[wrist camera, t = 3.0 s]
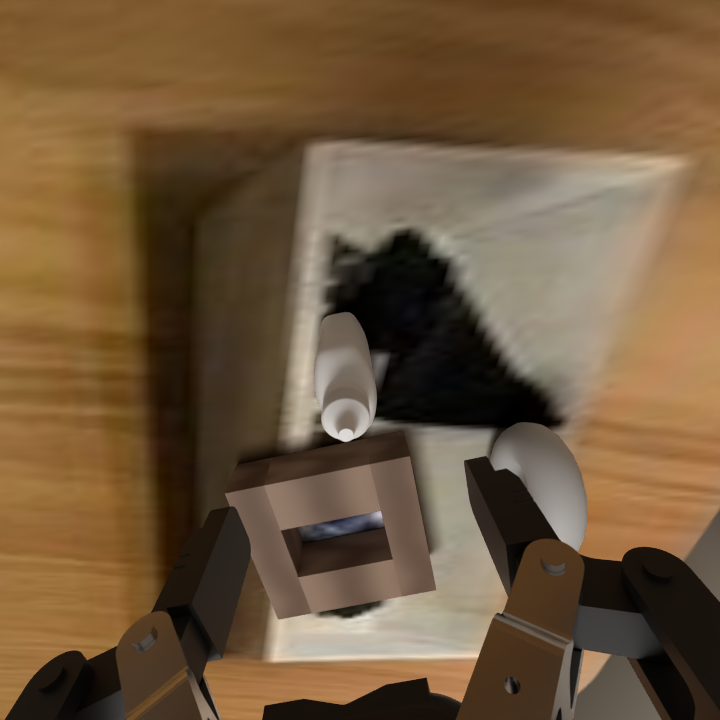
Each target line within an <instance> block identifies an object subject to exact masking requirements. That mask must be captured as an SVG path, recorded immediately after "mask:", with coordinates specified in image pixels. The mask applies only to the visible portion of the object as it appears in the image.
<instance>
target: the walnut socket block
mask: <svg viewBox="0 0 720 720" xmlns="http://www.w3.org/2000/svg"><path fill="white" fill-rule="evenodd" d="M225 495H226V497H227V500H228V502H229V505H230V507H231V506H234V507H235V508H236V509H237V511H238V513H239V516H240V518H241V521H242V523H243V525H244V528H245V530H246V532H247V535H248V537H249V540H250V545H251V556H252V559H253V561H254V563H255V566H256V568H257V571H258V573H259V575H260V578H261V580H262V582H263V585H264V587H265V589H266V592H267V594H268V596H269V599H270V601H271V603H272V606H273V608H274V611H275V613H276V615H277V618H278V619H284V618H289V617H294V616H300V615H305V614H310V613H316V612H321V611H326V610H332V609H337V608H342V607H348V606H353V605H359V604H364V603H369V602H375V601H380V600H385V599H391V598H396V597H401V596H407V595H412V594H417V593H423V592H428V591H433V590H436V586H435V581H434V576H433V571H432V566H431V561H430V556H429V551H428V546H427V541H426V536H425V531H424V526H423V520H422V515H421V510H420V505H419V500H418V495H417V490H416V485H415V480H414V475H413V470H412V465H411V460H410V455H409V451H408V448H407V444H406V440H405V436H404V433H403V431H400V432H395V433H390V434H385V435H380V436H375V437H370V438H366V439H361V440H356V441H351V442H346V443H341V444H336V445H331V446H326V447H322V448H317V449H312V450H307V451H302V452H297V453H292V454H287V455H282V456H278V457H273V458H268V459H263V460H258V461H253V462H248V463H243V464H238V465H237V466H236V468H235V471H234V473H233V475H232V478H231V480H230V483H229V485H228V487H227V490H226V492H225ZM377 511H381V513H382V517H383V521H384V525H385V528H380V529H375V530H370V531H365V532H360V533H355V534H350V535H344V536H339V537H334V538H329V539H324V540H319V541H314V542H309V543H303V544H302V541H301V538H300V535H299V532H298V530H297V527H300V526H305V525H311V524H316V523H321V522H326V521H331V520H336V519H341V518H346V517H351V516H356V515H361V514H366V513H372V512H377Z"/></svg>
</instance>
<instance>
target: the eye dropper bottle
mask: <svg viewBox="0 0 720 720" xmlns="http://www.w3.org/2000/svg"><path fill="white" fill-rule="evenodd" d="M314 387H315V393H316V397H317V400H318V403H319V406H320V408H321V410H322V415H321V421H322V425H323V427H324V429H325V431H326V432H327V433H328V434H329V435H330V436H332V437H334V438H336V439H339V440H341V441H344V442H348V441H351V440H352V439H355V438H357V437H359V436H361V435H363V433H365V431H366V430H367V428H369V427H370V425H371V424H372V422H373V419H374V416H375V411H376V402H377V396H376V386H375V380H374V374H373V369H372V363H371V358H370V352H369V347H368V342H367V339H366V336H365V333H364V331H363V329H362V327H361V325H360V323H359V322H358V320H357V319H356V317H355V316H354V315H353V314H352V313H350V312H343V313H338V314H333V315H329V316H327V317H325V318H324V319H323V321H322V324H321V329H320V334H319V339H318V345H317V350H316V357H315V363H314Z"/></svg>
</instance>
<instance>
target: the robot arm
mask: <svg viewBox="0 0 720 720" xmlns="http://www.w3.org/2000/svg"><path fill="white" fill-rule="evenodd" d="M464 466H465V473H466V480H467V487H468V494H469V499H470V504H471V507H472V511H473V514H474V516H475V519H476V521H477V523H478V526H479V528H480V531H481V533H482V536H483V538H484V540H485V543H486V545H487V548H488V550H489V552H490V555H491V557H492V560H493V562H494V564H495V567H496V569H497V572H498V574H499V576H500V579H501V581H502V584H503V586H504V588H505V591H506V593H507V596H508V600H507V603H506V606H505V609H504V611H503V613H502V614H500V613H497V614H496V615H495V616H494V617H493V619H492V622H491V624H490V627H489V630H488V632H487V635H486V638H485V641H484V643H483V646H482V649H481V652H480V654H479V657H478V660H477V663H476V665H475V668H474V671H473V674H472V676H471V679H470V682H469V685H468V687H467V690H466V693H465V696H464V698H463V701H462V703H461V702H459V701H457V700H455V699H453V698H450V697H448V696H444V695H441V694H437V693H431V692H430V690H429V686H428V682H427V678H422V679H416V680H410V681H405V682H399V683H393V684H387V685H385V686H383V687H381V688H379V689H377V690H374V691H372V692H370V693H368V694H366V695H364V696H362V697H360V698H358V699H356V700H354V701H352V702H350V703H348V704H345V705H339V704H333V703H326V702H320V701H314V700H307V699H301V700H295V701H289V702H283V703H278V704H272V705H266V706H265V707H264V713H263V719H262V720H573V716H574V710H575V704H576V698H577V692H578V686H579V679H580V673H581V667H582V661H583V655H584V650H589V651H595V652H601V653H607V654H613V655H618V656H625V657H627V659H628V660H629V662H630V664H631V666H632V667H633V669H634V671H635V673H636V675H637V676H638V678H639V680H640V682H641V683H642V685H643V687H644V689H645V691H646V692H647V694H648V696H649V698H650V699H651V701H652V703H653V704H654V707H655V708H656V710H657V712H658V714H659V715H660V717H661V719H662V720H720V602H719V601H718V600H717V598H716V597H715V596H714V595H713V594H712V593H711V592H710V590H709V589H708V588H707V587H706V586H705V585H704V584H703V582H702V581H701V580H700V579H699V578H698V577H697V576H696V574H695V573H694V572H693V571H692V570H691V569H690V568H689V567H688V566H687V565H686V564H685V563H684V562H683V561H682V560H680V559H679V558H677V557H676V556H674V555H672V554H670V553H668V552H666V551H663V550H660V549H657V548H651V547H638V548H633V549H631V550H629V551H628V552H626V553H625V555H624V556H623V559H622V561H612V560H602V559H594V558H589V557H586V556H583V555H580V554H579V553H578V552H577V551H576V550H575V549H574V548H572V547H571V546H569V545H568V544H566V543H564V542H561V540H560V539H559V538H558V536H557V535H556V533H555V531H554V530H553V528H552V527H551V525H550V524H549V522H548V521H547V519H546V517H545V516H544V514H543V513H542V511H541V510H540V508H539V507H538V505H537V504H536V502H535V501H534V499H533V497H532V496H531V494H530V493H529V491H527V488H526V487H525V485H524V483H523V482H522V480H521V479H520V477H518V476H517V475H515V474H514V473H513V472H511V471H510V470H508V469H507V468H506V469H501V470H496V471H495V470H494V468H493V466H492V464H491V463H490V461H489V459H488V458H487V457H486V456H484V457H479V458H474V459H469V460H465V461H464ZM250 556H251V545H250V540H249V537H248V535H247V532H246V530H245V528H244V525H243V523H242V521H241V518H240V516H239V513H238V511H237V509H236V508H235V507H234V506H231V507H226V508H221V509H216V510H212V511H210V513H209V514H208V517H207V519H206V521H205V523H204V525H203V528H199V529H197V530H196V531H195V532H194V533H193V534H192V535H191V536H190V538H189V539H188V540H187V541H186V542H185V544H184V546H183V548H182V550H181V552H180V554H179V559H177V561H176V563H175V565H174V567H173V570H172V571H171V573H170V575H169V577H168V579H167V581H166V583H165V585H164V587H163V589H162V591H161V593H160V595H159V598H158V600H157V602H156V604H155V606H154V608H153V610H152V612H151V613H150V614H148V615H146V616H144V617H142V618H140V619H139V620H138V621H136V622H135V623H134V624H133V625H132V626H131V627H130V628H129V629H128V630H127V631H126V632H125V634H124V635H123V636H122V638H121V640H120V641H119V643H118V646H116V647H114V648H112V649H110V650H108V651H106V652H104V653H102V654H100V655H98V656H96V657H94V658H91V659H89V660H86V658H85V657H84V656H83V654H82V653H81V652H79V651H68V652H65V653H63V654H61V655H59V656H57V657H55V658H54V659H52V660H51V661H49V662H48V663H47V664H46V665H44V666H43V667H42V668H41V669H40V670H39V671H38V672H37V673H36V674H35V675H34V676H33V677H32V679H31V680H30V681H29V683H28V684H27V685H26V687H25V688H24V690H23V692H22V693H21V695H20V696H19V698H18V700H17V701H16V703H15V704H14V706H13V708H12V709H11V711H10V712H9V714H8V715H7V717H6V719H5V720H222V719H221V716H220V714H219V711H218V708H217V706H216V703H215V701H214V698H213V696H212V693H211V690H210V688H209V685H208V683H207V680H206V678H205V676H204V674H203V673H204V669H205V666H206V663H207V662H208V661H214V660H220V659H222V657H223V653H224V650H225V646H226V643H227V639H228V636H229V632H230V628H231V625H232V621H233V618H234V614H235V610H236V607H237V603H238V600H239V596H240V593H241V589H242V585H243V582H244V578H245V575H246V571H247V568H248V564H249V560H250Z"/></svg>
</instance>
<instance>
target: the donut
mask: <svg viewBox="0 0 720 720" xmlns="http://www.w3.org/2000/svg"><path fill="white" fill-rule="evenodd" d="M490 463H491V464H492V466H493V468H494V470H495V471H496V470H501V469H506V468H507V469H508V470H510V471H511V472H513V473H514V474H515V475H517V476H518V477H520V479H521V480H522V482H523V483H524V485H525V487H526V488H527V491H529V493H530V494H531V496H532V497H533V499H534V501H535V502H536V504H537V505H538V507H539V508H540V510H541V511H542V513H543V514H544V516H545V517H546V519H547V521H548V522H549V524H550V525H551V527H552V528H553V530H554V531H555V533H556V535H557V536H558V538H559V539H560V540H561V542H564V543H566V544H568V545H569V546H571V547H572V548H574V549H575V550H576V551H577V552H578V550H579V548H580V546H581V544H582V542H583V540H584V536H585V531H586V525H587V520H588V517H587V496H586V492H585V487H584V483H583V479H582V474H581V472H580V470H579V467H578V465H577V463H576V460H575V458H574V456H573V454H572V453H571V451H570V450H569V449H568V447H567V446H566V445H565V443H564V442H563V440H562V439H561V438H560V437H559V436H558V435H557V434H555V433H554V432H552V431H551V430H550V429H548V428H547V427H545V426H543V425H541V424H536V423H527V422H521V423H516V424H514V425H513V426H511V427H509V428H507V429H506V430H504V431H503V432H502V433H501V434H500V436H499V437H498V439H497V440H496V442H495V444H494V446H493V450H492V453H491V456H490Z"/></svg>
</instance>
